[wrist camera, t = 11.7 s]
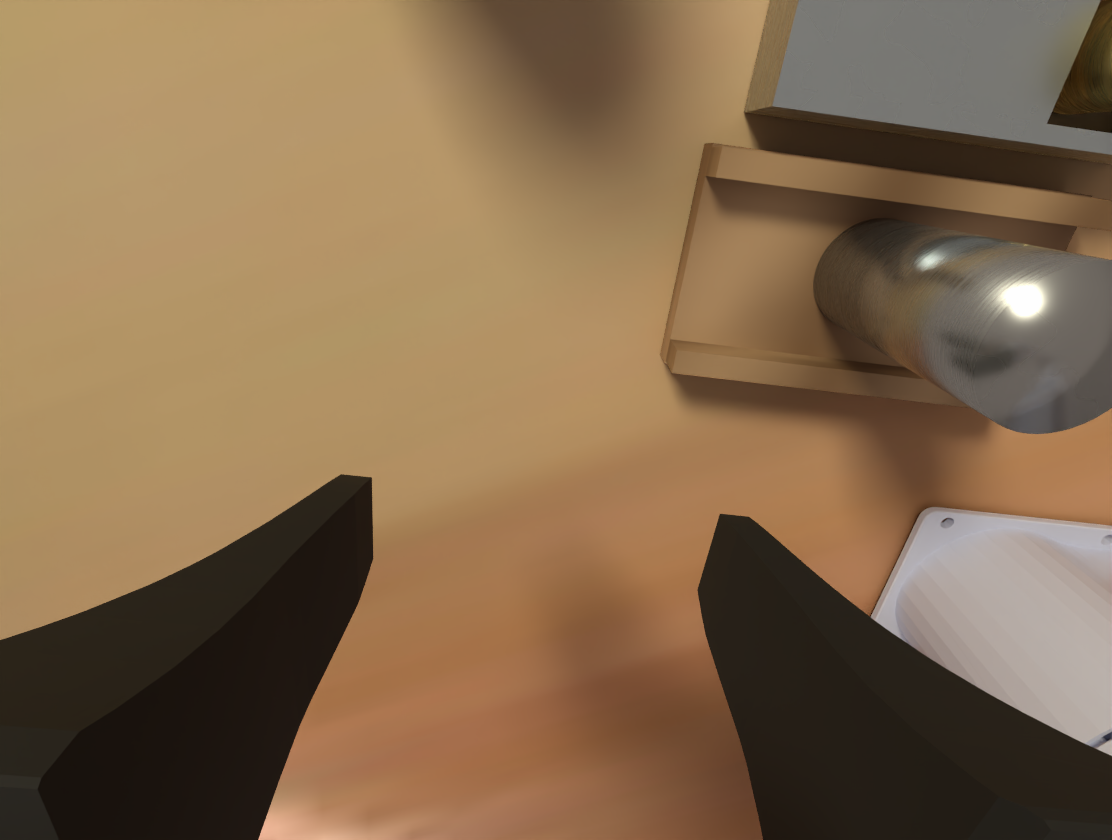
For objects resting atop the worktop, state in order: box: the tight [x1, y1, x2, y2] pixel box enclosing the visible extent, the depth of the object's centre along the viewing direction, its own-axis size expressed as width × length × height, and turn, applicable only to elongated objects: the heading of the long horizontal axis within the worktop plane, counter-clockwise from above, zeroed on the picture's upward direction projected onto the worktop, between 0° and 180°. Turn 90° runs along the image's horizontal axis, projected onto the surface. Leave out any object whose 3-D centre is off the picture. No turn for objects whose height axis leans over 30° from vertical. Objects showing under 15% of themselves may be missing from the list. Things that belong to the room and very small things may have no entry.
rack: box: [660, 143, 1112, 408], centre depth 19 cm, size 12×7×2 cm, turn 83°
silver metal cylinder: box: [813, 218, 1112, 434], centre depth 15 cm, size 4×4×8 cm
